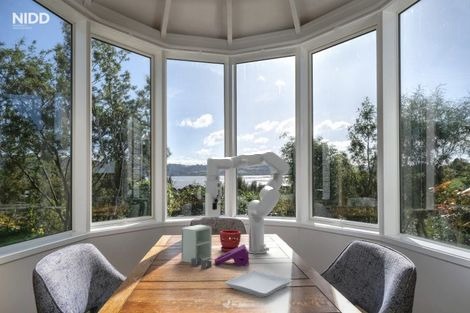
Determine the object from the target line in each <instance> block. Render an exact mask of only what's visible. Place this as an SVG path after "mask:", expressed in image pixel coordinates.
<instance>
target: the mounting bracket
mask: <svg viewBox="0 0 470 313" xmlns="http://www.w3.org/2000/svg"><path fill="white" fill-rule="evenodd" d="M249 254H250V253H248V251H247V247H246V245H245V243H244V244H243V243H242V245H239V246H238V247H237V248H235V249H233V250H231V251H229V252H225V253H223V254H221V255H219V256H218V257H216V258H215V259H214V263H215V265H216V266H218V265H219V266H220V265H222V264H224V263H227V262H228V261H230V260H233V262H234V264H235V265H236V266H238V267H246V266H247V265H248V264H249V262H250V261H249V260H250V257H249V256H250V255H249Z"/></svg>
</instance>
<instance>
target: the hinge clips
mask: <svg viewBox="0 0 470 313" xmlns="http://www.w3.org/2000/svg"><path fill="white" fill-rule="evenodd" d="M212 262H213V261H212V260H210V259H208V260H205V261H204V260H201V259H200V258H197V263H196V259H195V258H191V263H190V265H191V267H193V268H195V267H199V266H201V268H200V269H201V270H207V269H209V268H212V267H213V266H212V265H213V264H212Z"/></svg>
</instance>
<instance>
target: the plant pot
mask: <svg viewBox="0 0 470 313" xmlns="http://www.w3.org/2000/svg"><path fill="white" fill-rule="evenodd" d="M241 235H242V233H241V231H240V230H236V229H235V230H233V229H226V230H220V232H219V241H220V244H221V247H220V249H221V251H223V252H225V253H227V252H229V251H231V250H233V249H235V248H237V247H239V246H240V244H241V243H240V242H241V239H242V238H241Z"/></svg>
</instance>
